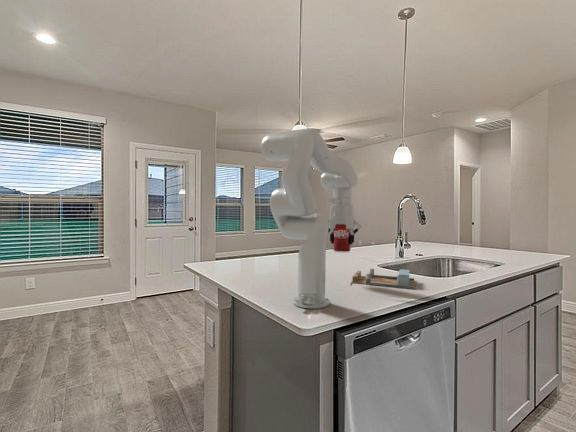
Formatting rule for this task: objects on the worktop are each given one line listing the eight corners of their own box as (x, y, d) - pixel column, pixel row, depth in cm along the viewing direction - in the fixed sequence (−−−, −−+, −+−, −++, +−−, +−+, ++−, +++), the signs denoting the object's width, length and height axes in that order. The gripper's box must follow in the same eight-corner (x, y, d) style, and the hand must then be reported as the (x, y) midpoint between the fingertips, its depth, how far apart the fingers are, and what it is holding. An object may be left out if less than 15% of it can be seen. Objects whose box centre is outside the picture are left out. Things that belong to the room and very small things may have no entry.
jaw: (408, 287, 129) (408, 275, 128) (396, 286, 130) (397, 274, 130) (409, 281, 139) (409, 269, 139) (398, 280, 140) (398, 269, 140)
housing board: (416, 292, 125) (416, 279, 125) (350, 286, 135) (350, 273, 135) (416, 283, 140) (416, 271, 140) (357, 277, 150) (357, 266, 150)
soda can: (350, 253, 131) (350, 224, 130) (332, 252, 132) (333, 223, 132) (350, 250, 138) (350, 222, 137) (333, 249, 139) (333, 222, 139)
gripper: (319, 202, 134) (319, 243, 135) (362, 202, 127) (361, 246, 128) (324, 201, 141) (324, 241, 142) (364, 202, 134) (363, 243, 135)
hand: (341, 243), depth 135 cm, fingers closed on soda can, 7 cm apart
